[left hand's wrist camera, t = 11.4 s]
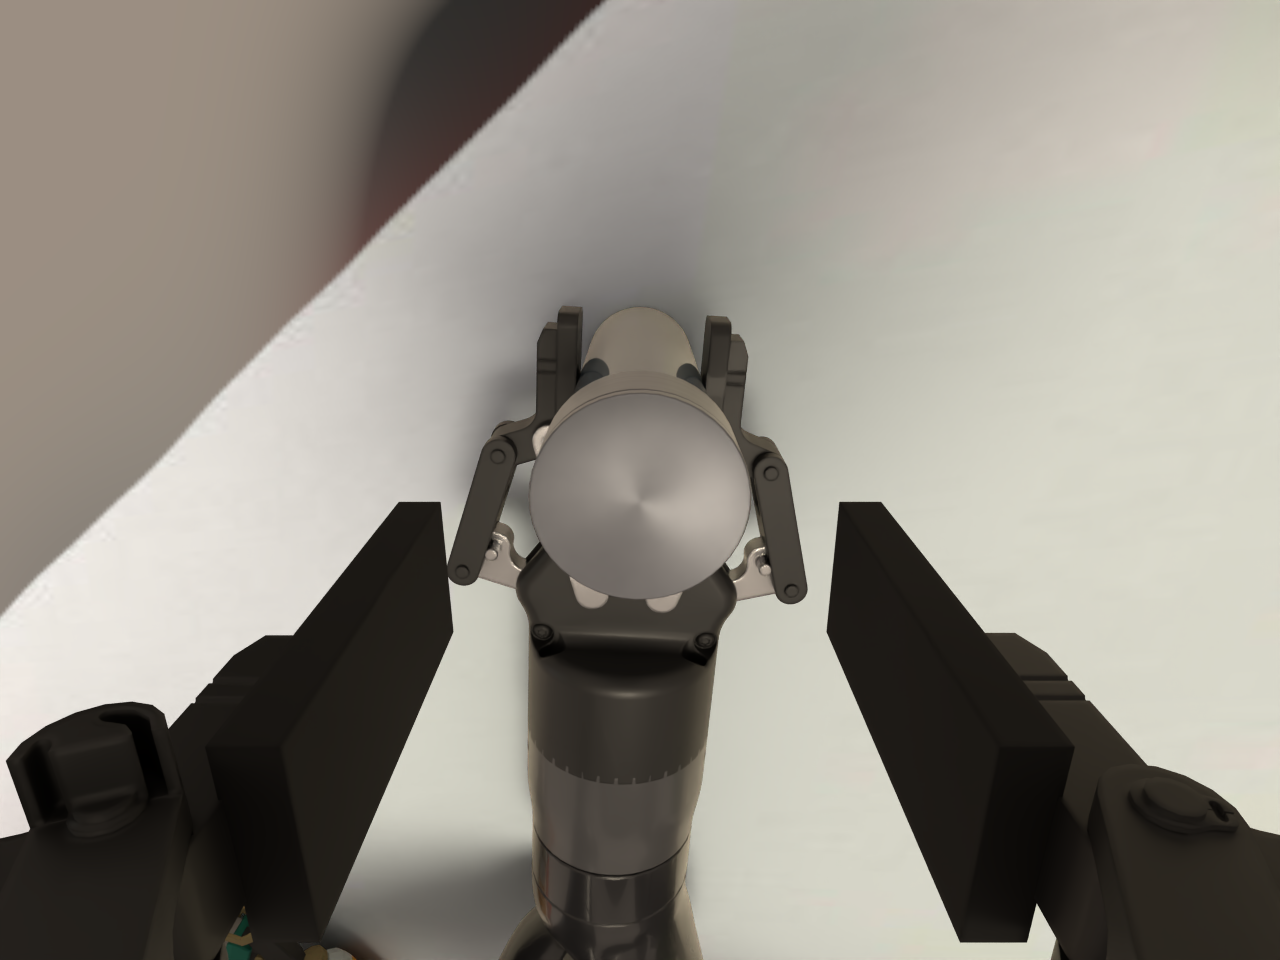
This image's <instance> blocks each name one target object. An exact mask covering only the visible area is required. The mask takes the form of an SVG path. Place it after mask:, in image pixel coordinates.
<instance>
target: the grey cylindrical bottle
mask: <svg viewBox="0 0 1280 960" xmlns="http://www.w3.org/2000/svg"><path fill="white" fill-rule="evenodd" d="M644 370H645V371H654V372H660V373H664V374H669V375H672V376H675V377H677V378H680V379H682V380H685V381H687V382H688V383H690V384H692V385H694V386H696V387H697V388H698V389H700V390H701V391H702V392H704V393H705V394H706V391H705V388H704V385H703V382H702V379H701V376H700V373H699V370H698V367H697V364H696V361H695V358H694V356H693V353H692V350H691V347H690V344H689V341H688V339H687V336H686V334H685V333H684V331H683V329H682V328H681V327H680V325H679V324H678V323H677V322H676V321H675V320H674V319H673V318H671V317H670V316H669V315H667V314H665V313H663V312H661V311H659V310H656V309H653V308H648V307H632V308H627V309H624V310H621V311H619V312H616V313H615V314H613V315H611V316H610V317H609V318H607V319H606V320H605V321H604V322H603V323H602V324H601V325H600V326H599V328H598V329H597V331H596V332H595V334H594V336H593V338H592V341H591V343H590V346H589V349H588V352H587V355H586V358H585V361H584V364H583V367H582V370H581V373H580V376H579V379H578V382H577V385H576V388H575V391H574V394H575V393H576V392H577V391H579V390H580V389H581V388H583V387H585V386H586V385H588V384H590V383H591V382H593V381H595V380H598V379H600V378H602V377H605V376H608V375H612V374H615V373H619V372H626V371H644ZM574 394H573V395H574ZM706 395H707V394H706Z"/></svg>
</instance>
